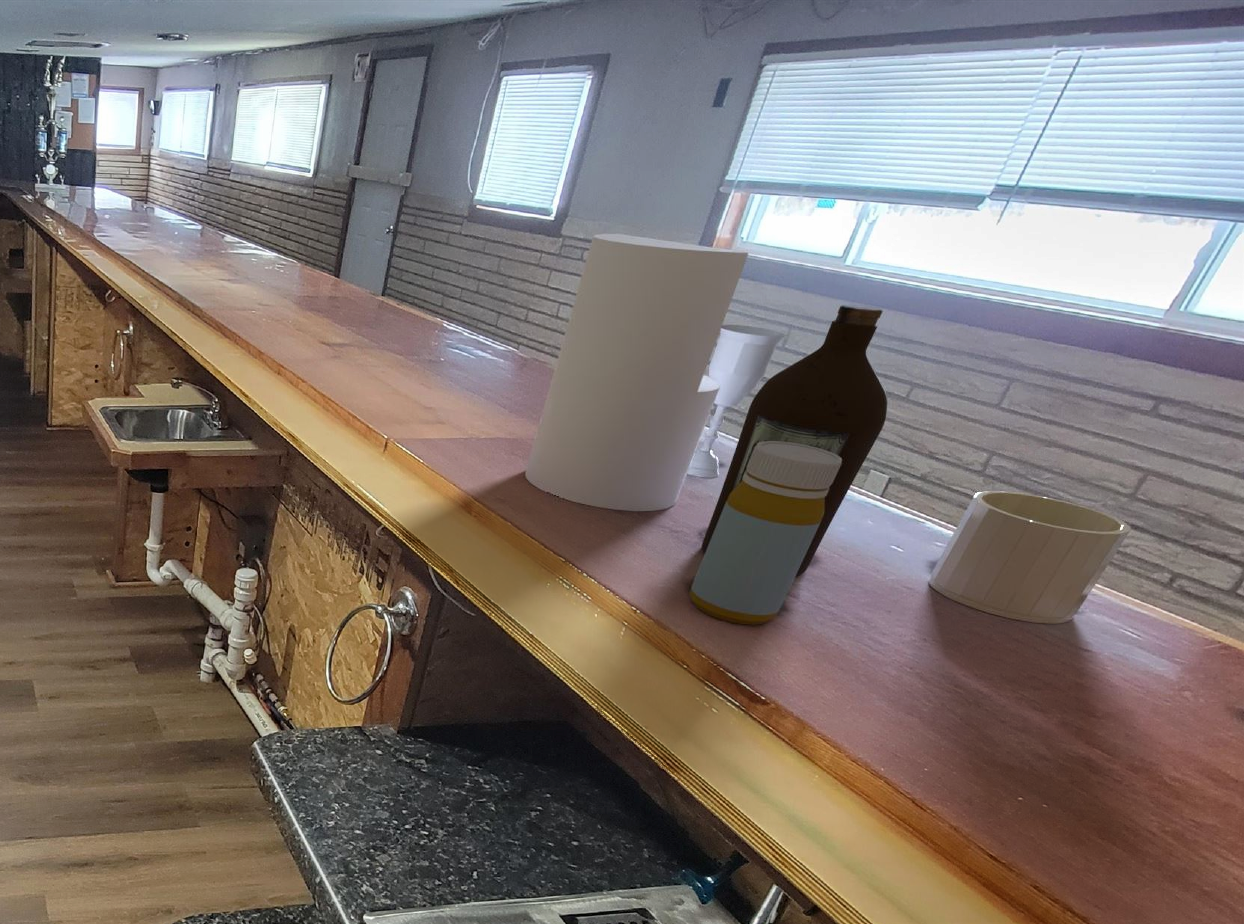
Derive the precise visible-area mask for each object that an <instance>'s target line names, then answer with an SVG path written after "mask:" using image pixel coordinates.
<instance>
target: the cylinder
mask: <svg viewBox="0 0 1244 924" xmlns="http://www.w3.org/2000/svg"><path fill="white" fill-rule="evenodd" d="M748 256H749V252H747V251H741V250H740V251H739V250H734V249H726V248H721V247H720V248H719V247H714V246H713V247H712V246H704V245H699V244H692V243H685V242H679V241H670V240H664V239H657V238H650V237H642V236H636V235H629V234H623V233H602V234H601V233H600V234H594V235H592V239H591V242H590V245H589V248H588V253H587V257H586V260H585V263H584V267H583V270H582V274H581V277H580V281H579V284H578V287H577V291H576V294H575V298H574V302H573V305H572V308H571V311H570V315H569V318H568V322H567V325H566V329H565V333H564V335H563V340H562V343H561V347H560V350H559V353H558V357H557V360H556V363H555V367H554V368H555V369H554V371H553V375H552V377H551V381H550V385H549V388H548V391H547V395H546V398H545V402H544V406H543V410H542V413H541V415H540V420H539V423H538V426H537V430H536V434H535V438H534V440H533V444H532V448H531V451H530V454H529V458H528V462H527V465H526V469H525V471H524V474H525V479H526V480H527V481H528V482H529V483H530V484H531V485H533V486H534V487H536V488H537V489H539V490H540V491H542V492H545V493H547V492H550V493H551V494H550V493H549V494H550V495H552V494H553V495H552V496H554V495H556V496H555V497H557V496H559V497H558V498H561V499H563V498H564V500H567V501H571V502H574V503H577V504H582V505H586V506H591V507H594V508H601V509H607V510H615V511H624V512H625V511H626V512H627V511H628V512H655V511H660V510H661V511H662V510H667V509H669V508H671V507H673V506H675V505H676V503H677V501H678V498H679V497H680V496H679V495H680V493H681V490H682V488H683V485H684V483H685V479H686V477H687V475H688V474H687V472H688V469H689V467H690V464H691V461H692V459H693V456H694V454H695V451H697V448H698V445H699V443H700V440H701V437H702V435H703V432H704V430H705V427H706V425H707V422H708V419H709V417H710V414H711V411H712V409H713V407H714V404H715V403H714V401H715V398H716V396H717V393H718V390H719V388H720V384H719V383H718V382H717V381H716V380H714V379H712V378H710V377H709V375H705V372H706V370H707V367H708V365H709V363H710V359H711V357H712V355H713V351H714V348H715V345H716V342H717V340H718V338H719V336H720V335H719V334H720V329H721V327H722V325H724V321H725V318H726V315H727V313H728V311H729V307H730V305H731V302H732V300H733V297H734V294H735V291H736V289H737V287H738V283H739V280H740V278H741V275H742V272H743V270H744V267H745V265H746V261H747V259H748Z"/></svg>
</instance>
